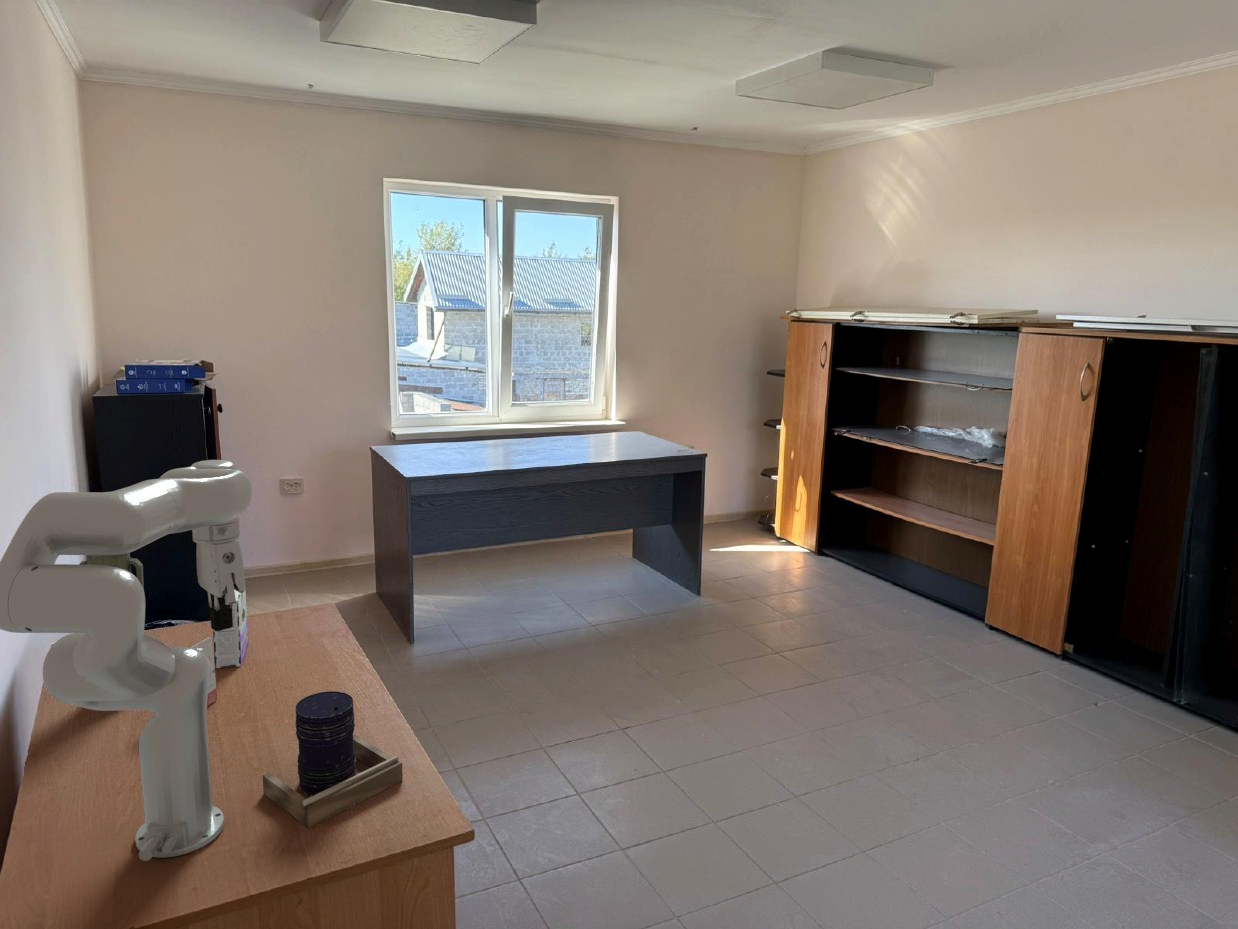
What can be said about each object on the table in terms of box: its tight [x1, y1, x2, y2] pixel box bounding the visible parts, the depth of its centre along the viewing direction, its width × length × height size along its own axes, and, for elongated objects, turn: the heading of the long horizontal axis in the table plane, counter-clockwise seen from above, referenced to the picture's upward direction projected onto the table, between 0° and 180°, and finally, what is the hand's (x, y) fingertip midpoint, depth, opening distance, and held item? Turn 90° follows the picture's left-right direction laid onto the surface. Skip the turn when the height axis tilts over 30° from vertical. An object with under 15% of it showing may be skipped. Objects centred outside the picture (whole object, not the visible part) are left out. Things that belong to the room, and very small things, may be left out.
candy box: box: [211, 590, 249, 669], centre depth 195 cm, size 14×6×16 cm, turn 17°
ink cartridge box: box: [191, 636, 218, 708], centre depth 170 cm, size 9×5×15 cm, turn 168°
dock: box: [262, 734, 403, 829], centre depth 145 cm, size 15×18×4 cm
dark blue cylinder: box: [295, 690, 357, 797], centre depth 146 cm, size 10×10×15 cm
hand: (222, 628), depth 148 cm, fingers closed
